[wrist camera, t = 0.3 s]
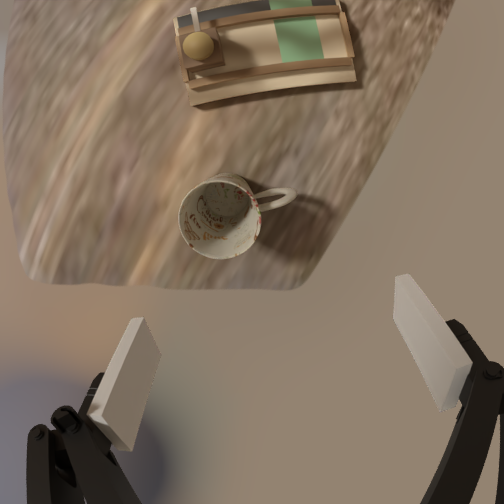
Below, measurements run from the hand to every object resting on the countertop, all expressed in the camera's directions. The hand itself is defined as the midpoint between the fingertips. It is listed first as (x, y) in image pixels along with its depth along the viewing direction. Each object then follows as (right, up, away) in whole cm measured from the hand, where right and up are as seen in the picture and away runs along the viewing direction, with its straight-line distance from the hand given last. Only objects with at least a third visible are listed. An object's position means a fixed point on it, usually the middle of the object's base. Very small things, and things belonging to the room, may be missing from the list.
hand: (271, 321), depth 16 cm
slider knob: (-7, +28, +15) cm, 32 cm away
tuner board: (+1, +28, +17) cm, 33 cm away
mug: (-2, +11, +25) cm, 27 cm away
